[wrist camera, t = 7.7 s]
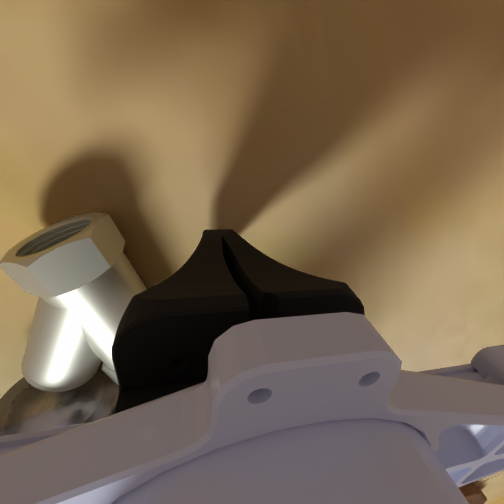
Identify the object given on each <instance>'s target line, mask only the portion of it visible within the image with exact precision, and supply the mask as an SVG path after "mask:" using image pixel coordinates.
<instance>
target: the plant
mask: <svg viewBox="0 0 504 504" xmlns="http://www.w3.org/2000/svg"><path fill="white" fill-rule="evenodd" d="M459 489H460V491H461V492H462V494H463V495H464V497H465V498H466V500H467V501H468V502H469V504H484V503H485V502H486V501H487V498H486V496H485V495H484V494H483V492H482V491H481V490H480V488H479V487H476V486H475V484H474V483H473V482H471V483H469V484H466V485H464V486H461V487H459Z"/></svg>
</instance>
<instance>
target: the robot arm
mask: <svg viewBox="0 0 504 504" xmlns="http://www.w3.org/2000/svg"><path fill="white" fill-rule="evenodd" d="M111 349H112V361H113V365H114V368H115V372H116V376H117V380H118V384H119V387H120V393H119V398H118V402H117V406H116V411H115V414H113V415H111V416H108V417H105V418H102V419H99V420H97V421H94V422H90V423H84V424H77V425H71V426H64V427H58V428H51V429H45V430H38V431H32V432H25V433H19V434H12V435H6V436H0V504H469V502H468V501H467V500H466V498H465V497H464V495H463V494H462V492H461V491H460V489H459V487H461V486H464V485H466V484H469V483H471V482H474V481H477V480H479V479H482V478H484V477H487V476H490V475H492V474H495V473H498V472H500V471H503V470H504V345H498V346H491V347H486V348H483V349H482V350H480V351H479V352H478V353H477V354H476V355H475V356H474V357H473V359H472V360H471V364H465V365H459V366H453V367H446V368H440V369H433V370H427V371H420V372H412V371H405V370H400V369H401V364H402V361H401V360H400V359H399V358H398V356H397V355H396V354H395V353H394V351H393V350H392V349H391V348H390V346H389V345H388V344H387V343H386V341H385V340H384V339H383V338H382V336H381V335H380V334H379V333H378V332H377V330H376V329H375V328H374V327H373V325H372V324H371V323H370V322H369V321H368V319H367V318H366V317H365V316H364V306H363V304H362V303H361V301H360V299H359V298H358V297H357V296H356V295H355V293H354V292H353V291H352V290H351V289H350V288H349V286H348V285H347V284H346V283H343V282H338V281H333V280H329V279H324V278H320V277H316V276H313V275H309V274H306V273H303V272H300V271H297V270H295V269H292V268H290V267H287V266H285V265H283V264H281V263H279V262H277V261H275V260H273V259H271V258H270V257H268V256H266V255H265V254H263V253H262V252H260V251H259V250H257V249H256V248H254V247H253V246H252V245H250V244H249V243H248V242H247V241H245V240H244V239H243V238H242V237H241V236H239V235H238V234H237V233H236V232H235V231H233V230H204V231H203V235H202V238H201V241H200V243H199V244H198V246H197V248H196V250H195V251H194V253H193V254H192V255H191V257H190V258H189V259H188V261H187V262H186V263H185V264H184V265H183V266H182V267H181V268H180V269H179V270H178V271H177V272H176V273H174V274H173V275H172V276H171V277H169V278H168V279H166V280H165V281H163V282H161V283H160V284H158V285H156V286H154V287H152V288H150V289H148V290H145V291H143V292H141V293H139V294H136V295H134V296H133V297H132V299H131V301H130V302H129V304H128V306H127V308H126V310H125V312H124V314H123V316H122V318H121V320H120V323H119V325H118V328H117V331H116V334H115V338H114V341H113V345H112V348H111Z"/></svg>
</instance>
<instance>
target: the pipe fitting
mask: <svg viewBox="0 0 504 504" xmlns="http://www.w3.org/2000/svg"><path fill="white" fill-rule="evenodd" d="M124 245H125V240H124V238H123V236H122V235H121V233H120V232H119V230H118V228H117V227H116V225H115V223H114V222H113V220H112V219H111V217H110V215H109V214H104V213H98V212H91V213H85V214H80V215H77V216H73V217H70V218H67V219H65V220H62V221H59V222H57V223H55V224H52V225H50V226H48V227H46V228H44V229H42V230H40V231H38V232H36V233H34V234H32V235H30V236H29V237H27V238H25V239H24V240H22V241H21V242H19V243H18V244H16V245H15V246H14V247H12V248H11V249H10V250H9V251H8V252H7V253H6V254H5V255H4V257H3V258H2V260H1V261H0V267H1V268H2V269H3V270H4V271H5V272H6V273H7V274H8V275H9V276H10V277H11V278H12V279H13V280H14V281H15V282H16V283H17V284H18V285H19V286H20V287H21V288H22V289H23V290H24V291H25V292H27V293H29V294H32V295H35V296H39V298H38V302H37V306H36V310H35V314H34V318H33V322H32V326H31V330H30V334H29V337H28V341H27V345H26V349H25V353H24V357H23V361H22V373H23V376H24V378H25V379H26V381H27V382H28V383H29V384H31V385H32V386H33V387H35V388H37V389H40V390H43V391H48V392H62V391H68V390H71V389H74V388H77V387H79V386H81V385H83V384H84V383H86V382H87V381H88V380H90V379H91V378H92V377H93V376H94V375H95V373H96V372H97V370H98V368H99V366H100V364H101V362H102V361H103V364H102V370H103V371H104V372H105V373H106V374H107V375H108V376H109V377H110V378H111V379H112V380H113V381H114V382H115V383H116V384H118V380H117V376H116V372H115V368H114V365H113V361H112V349H111V348H112V345H113V341H114V338H115V334H116V331H117V328H118V325H119V323H120V320H121V318H122V316H123V314H124V312H125V310H126V308H127V306H128V304H129V302H130V301H131V299H132V297H133V296H134V295H136V294H139V293H141V292H143V291H145V290H147V288H146V287H145V285H144V284H143V282H142V281H141V279H140V278H139V276H138V274H137V273H136V271H135V270H134V268H133V267H132V265H131V263H130V262H129V260H128V259H127V257H126V256H125V254H124V253H123V249H124ZM118 385H119V384H118Z"/></svg>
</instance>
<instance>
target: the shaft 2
mask: <svg viewBox="0 0 504 504" xmlns="http://www.w3.org/2000/svg"><path fill="white" fill-rule="evenodd" d="M102 364H103V361H102V362H101V364H100V366H99V368H98V370H97V372H96V373H95V375H94V376H93V377H92V378H91V379H90V380H88V381H87V382H86V383H84V384H83V385H81V386H79V387H77V388H74V389H71V390H68V391H62V392H48V391H43V390H40V389H37V388H35V387H33V386H32V385H31V384H29V383H28V382H27V381H26V379H25V378H24V377H23V378H22V379H21V380H19V381H18V382H17V383H16V384H15V385H13V386H12V387H11V388H10V389H9V390H8V391H7V392H6V393H5V394H4V396H3V397H2V398H1V399H0V436H6V435H12V434H19V433H25V432H32V431H38V430H45V429H51V428H58V427H64V426H71V425H77V424H84V423H90V422H94V421H97V420H99V419H102V418H105V417H108V416H111V415H113V414H115V411H116V406H117V402H118V398H119V393H120V387H119V385H118V384H116V383H115V382H114V381H113V380H112V379H111V378H110V377H109V376H108V375H107V374H106V373H105V372H104V371H103V370H102Z"/></svg>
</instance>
